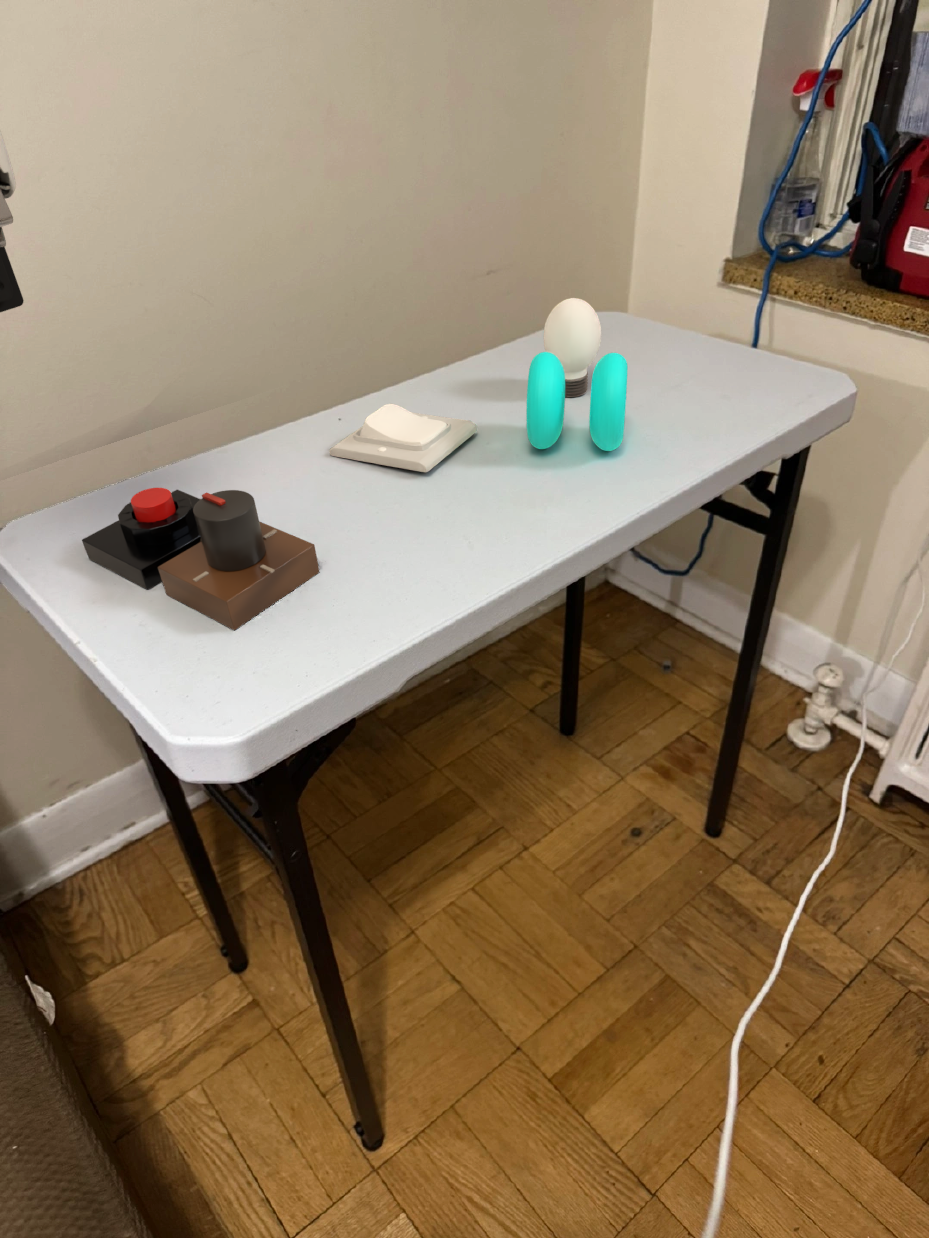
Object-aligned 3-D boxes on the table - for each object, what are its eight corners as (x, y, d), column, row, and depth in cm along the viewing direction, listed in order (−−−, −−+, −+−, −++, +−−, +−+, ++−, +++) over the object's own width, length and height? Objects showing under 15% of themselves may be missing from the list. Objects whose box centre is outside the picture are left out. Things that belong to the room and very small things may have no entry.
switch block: (147, 590, 76) (134, 552, 74) (88, 559, 81) (74, 522, 78) (242, 534, 83) (233, 497, 81) (182, 508, 88) (172, 472, 85)
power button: (152, 528, 78) (146, 511, 77) (128, 516, 80) (122, 500, 79) (184, 510, 80) (179, 494, 79) (160, 500, 82) (154, 483, 81)
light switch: (380, 388, 100) (475, 400, 94) (385, 422, 103) (479, 436, 97) (323, 426, 93) (422, 442, 87) (330, 461, 96) (427, 479, 90)
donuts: (534, 423, 99) (534, 337, 93) (622, 425, 97) (629, 338, 91) (525, 465, 91) (524, 374, 85) (621, 468, 90) (628, 376, 83)
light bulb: (597, 402, 102) (602, 309, 96) (540, 401, 103) (541, 309, 97) (599, 380, 108) (603, 289, 101) (545, 379, 109) (546, 289, 102)
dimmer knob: (277, 550, 75) (266, 496, 72) (233, 578, 72) (219, 523, 69) (239, 533, 77) (226, 481, 74) (195, 559, 74) (179, 506, 71)
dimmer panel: (235, 631, 71) (226, 600, 69) (165, 594, 76) (155, 565, 74) (320, 572, 77) (315, 543, 75) (251, 542, 82) (244, 513, 80)
